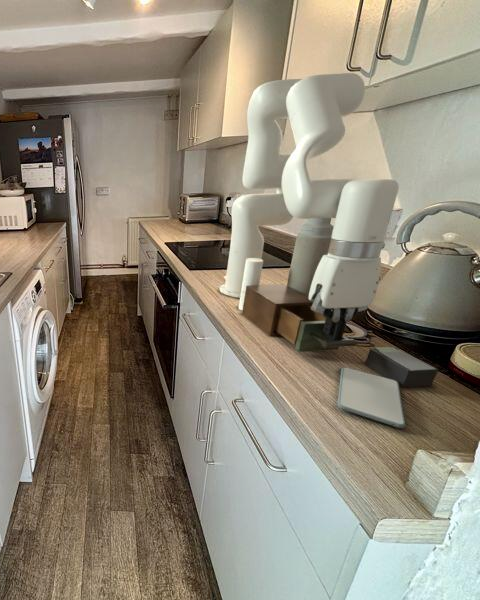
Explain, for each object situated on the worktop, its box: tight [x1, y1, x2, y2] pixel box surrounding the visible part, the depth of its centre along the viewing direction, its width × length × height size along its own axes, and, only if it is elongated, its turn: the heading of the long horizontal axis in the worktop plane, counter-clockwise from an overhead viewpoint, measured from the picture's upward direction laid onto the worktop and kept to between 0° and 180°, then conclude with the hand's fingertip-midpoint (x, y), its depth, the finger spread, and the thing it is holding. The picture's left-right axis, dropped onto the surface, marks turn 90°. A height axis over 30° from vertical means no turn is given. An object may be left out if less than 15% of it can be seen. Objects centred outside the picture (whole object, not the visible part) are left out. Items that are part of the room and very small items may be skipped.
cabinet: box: [241, 283, 313, 337], centre depth 83 cm, size 14×10×9 cm
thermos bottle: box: [286, 218, 334, 297], centre depth 85 cm, size 8×8×28 cm
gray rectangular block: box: [364, 346, 439, 388], centre depth 61 cm, size 6×8×4 cm
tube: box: [238, 258, 264, 312], centre depth 91 cm, size 4×4×15 cm
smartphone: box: [336, 366, 406, 429], centre depth 56 cm, size 8×1×15 cm
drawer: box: [274, 305, 357, 353], centre depth 72 cm, size 17×9×7 cm, turn 2°
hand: (331, 336), depth 66 cm, fingers closed
